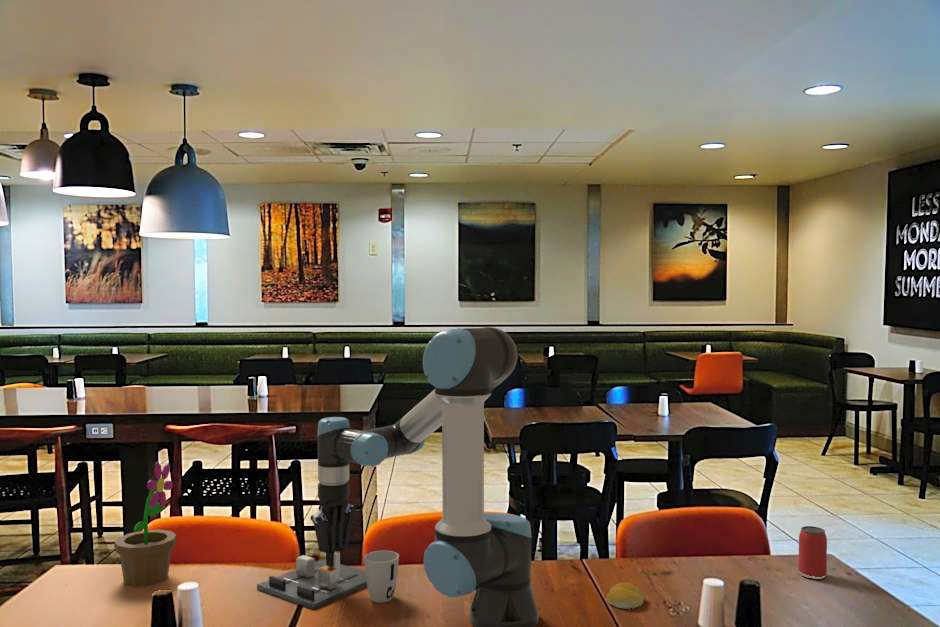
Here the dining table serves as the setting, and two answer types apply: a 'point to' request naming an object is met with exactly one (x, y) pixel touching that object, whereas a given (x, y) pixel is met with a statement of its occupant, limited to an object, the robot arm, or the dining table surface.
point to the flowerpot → (148, 539)
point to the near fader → (327, 577)
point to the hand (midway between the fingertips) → (333, 578)
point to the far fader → (305, 566)
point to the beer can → (813, 551)
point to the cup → (381, 574)
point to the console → (313, 586)
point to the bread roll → (625, 596)
